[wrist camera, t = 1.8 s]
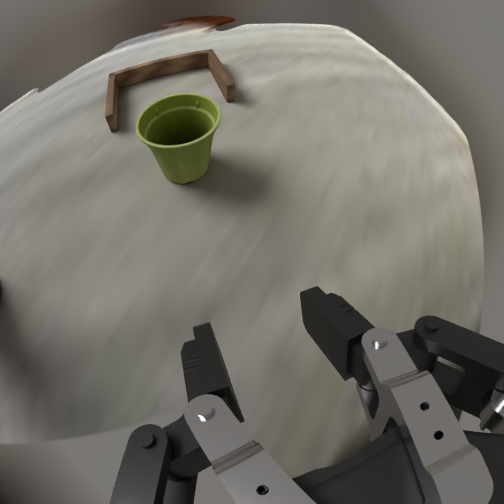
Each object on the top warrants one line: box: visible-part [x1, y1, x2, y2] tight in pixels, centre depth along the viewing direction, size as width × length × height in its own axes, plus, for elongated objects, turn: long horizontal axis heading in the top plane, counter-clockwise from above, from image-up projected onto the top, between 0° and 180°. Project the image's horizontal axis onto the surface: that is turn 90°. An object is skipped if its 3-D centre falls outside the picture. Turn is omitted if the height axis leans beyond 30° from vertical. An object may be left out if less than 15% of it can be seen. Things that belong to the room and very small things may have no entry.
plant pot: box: [136, 93, 221, 184], centre depth 30 cm, size 9×9×9 cm
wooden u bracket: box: [105, 49, 235, 132], centre depth 39 cm, size 20×15×4 cm
